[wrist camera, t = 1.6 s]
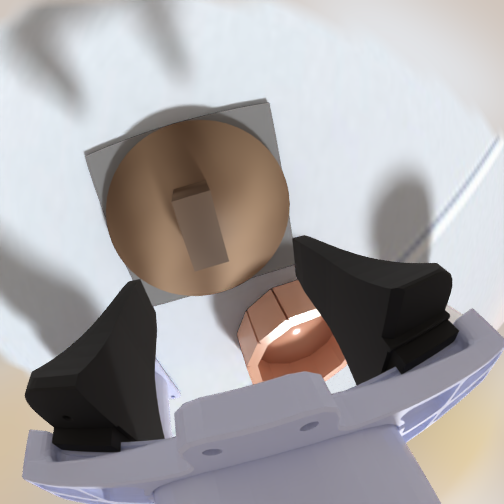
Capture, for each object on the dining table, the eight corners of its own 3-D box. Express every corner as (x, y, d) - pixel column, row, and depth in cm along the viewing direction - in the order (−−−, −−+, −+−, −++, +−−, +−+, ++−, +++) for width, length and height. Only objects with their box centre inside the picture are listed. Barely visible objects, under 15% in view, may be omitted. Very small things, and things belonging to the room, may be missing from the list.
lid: (147, 307, 23) (143, 338, 20) (84, 156, 16) (63, 164, 13) (295, 263, 25) (314, 288, 21) (269, 102, 18) (288, 98, 14)
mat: (147, 306, 23) (146, 308, 23) (86, 155, 16) (84, 156, 16) (294, 262, 25) (296, 264, 25) (268, 102, 18) (269, 102, 18)
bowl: (251, 375, 31) (260, 404, 27) (225, 302, 25) (235, 335, 21) (341, 342, 32) (358, 367, 28) (342, 264, 26) (367, 288, 23)
